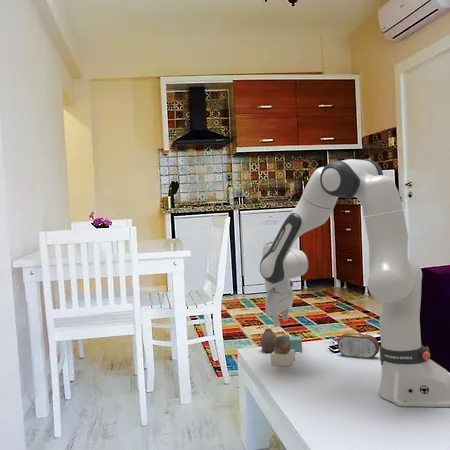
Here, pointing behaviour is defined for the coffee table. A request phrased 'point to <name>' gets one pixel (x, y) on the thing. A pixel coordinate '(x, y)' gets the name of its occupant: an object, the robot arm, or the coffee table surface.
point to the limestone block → (283, 358)
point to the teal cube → (296, 343)
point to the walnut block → (281, 345)
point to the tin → (358, 345)
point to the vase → (268, 340)
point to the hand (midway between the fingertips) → (281, 323)
